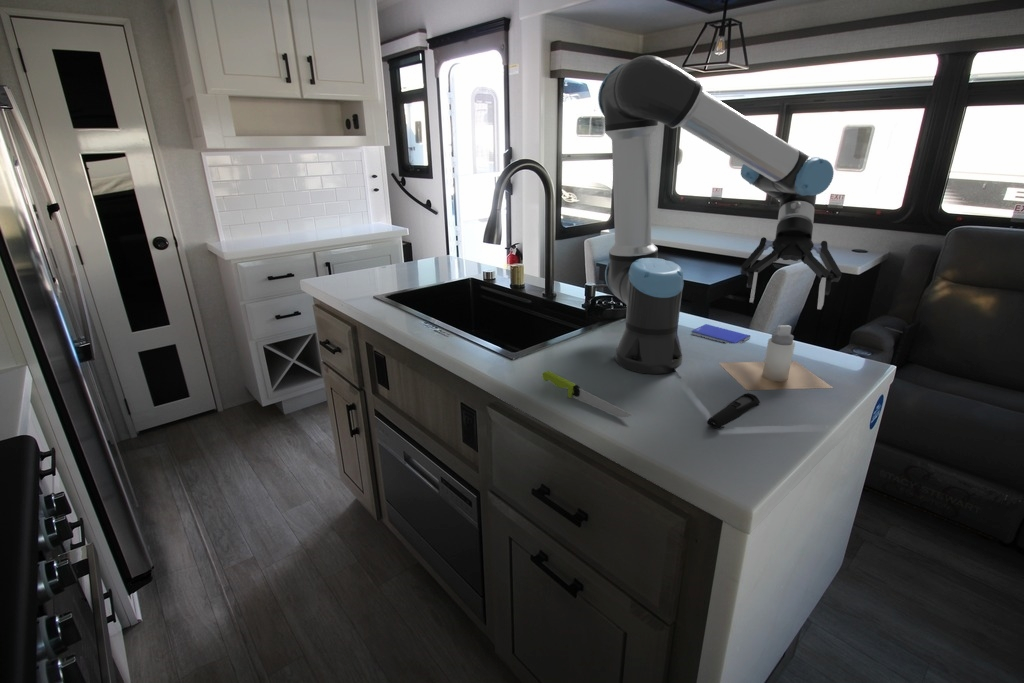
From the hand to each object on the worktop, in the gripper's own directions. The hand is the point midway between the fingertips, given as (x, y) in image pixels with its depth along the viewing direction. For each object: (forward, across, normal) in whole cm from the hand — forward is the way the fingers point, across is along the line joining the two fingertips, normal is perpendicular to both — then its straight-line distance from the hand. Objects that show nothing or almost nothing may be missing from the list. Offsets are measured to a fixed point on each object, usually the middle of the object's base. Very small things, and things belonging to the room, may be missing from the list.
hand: (785, 303), depth 113 cm
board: (+17, 0, +4) cm, 18 cm away
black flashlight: (+32, -7, -11) cm, 35 cm away
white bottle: (+17, 0, +2) cm, 17 cm away
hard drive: (0, -13, +21) cm, 25 cm away
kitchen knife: (+36, -34, -15) cm, 52 cm away
